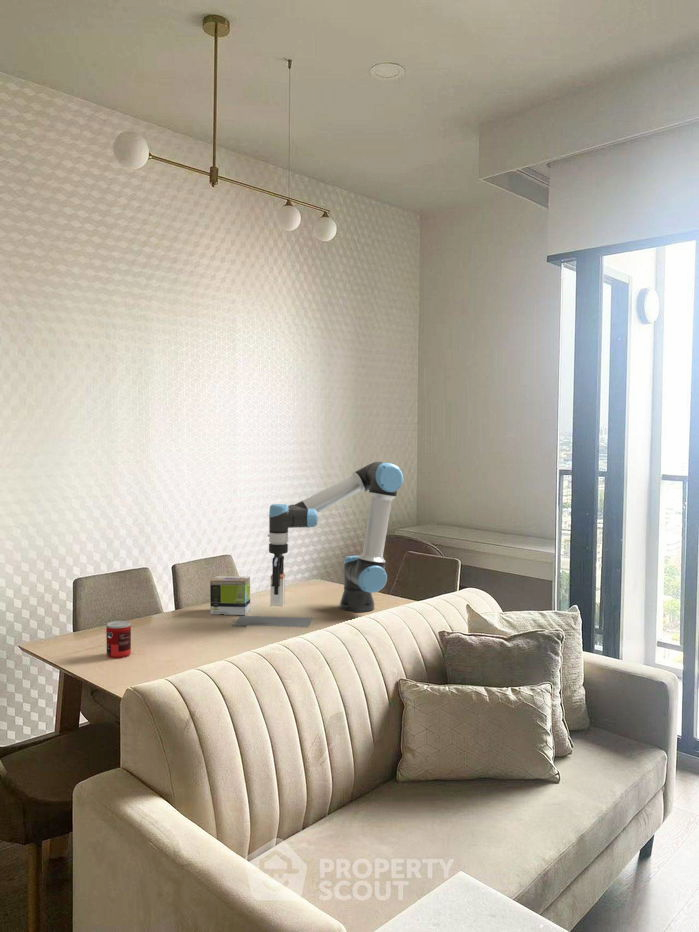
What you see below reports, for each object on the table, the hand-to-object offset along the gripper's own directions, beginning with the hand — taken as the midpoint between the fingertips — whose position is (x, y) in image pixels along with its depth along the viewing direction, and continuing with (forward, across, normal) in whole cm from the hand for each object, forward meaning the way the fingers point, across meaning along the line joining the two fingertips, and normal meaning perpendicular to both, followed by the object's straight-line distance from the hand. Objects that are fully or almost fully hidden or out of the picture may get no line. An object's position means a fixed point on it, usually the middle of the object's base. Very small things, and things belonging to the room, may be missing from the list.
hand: (277, 600), depth 288 cm
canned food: (+10, +46, -47) cm, 66 cm away
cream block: (+2, 0, 0) cm, 2 cm away
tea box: (+10, -15, -23) cm, 29 cm away
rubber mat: (+9, -1, -2) cm, 9 cm away
